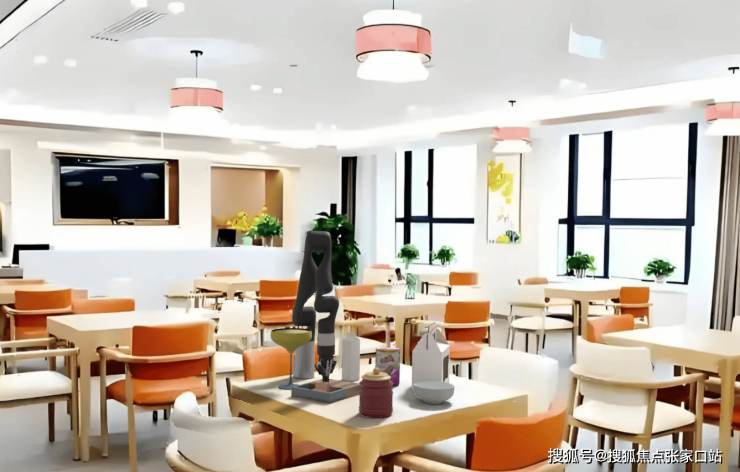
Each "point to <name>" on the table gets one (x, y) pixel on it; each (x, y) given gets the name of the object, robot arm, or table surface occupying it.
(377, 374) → the canister
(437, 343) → the gable box
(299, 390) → the box
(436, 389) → the cereal bowl
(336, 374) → the table surface
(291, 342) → the cocktail glass
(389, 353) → the candy bar box
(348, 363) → the milk
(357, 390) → the brown wooden board
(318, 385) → the terracotta tile
